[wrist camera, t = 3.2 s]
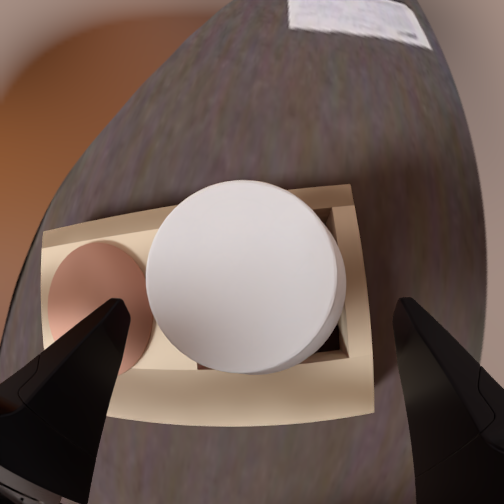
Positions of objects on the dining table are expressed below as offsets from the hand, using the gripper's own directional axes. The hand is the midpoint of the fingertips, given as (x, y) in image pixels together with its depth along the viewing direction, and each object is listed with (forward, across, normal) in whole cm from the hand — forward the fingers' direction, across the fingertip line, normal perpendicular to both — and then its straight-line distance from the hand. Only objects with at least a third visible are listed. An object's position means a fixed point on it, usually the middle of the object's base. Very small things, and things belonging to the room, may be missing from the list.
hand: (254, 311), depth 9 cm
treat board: (+6, +5, +6) cm, 10 cm away
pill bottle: (+7, 0, +6) cm, 9 cm away
